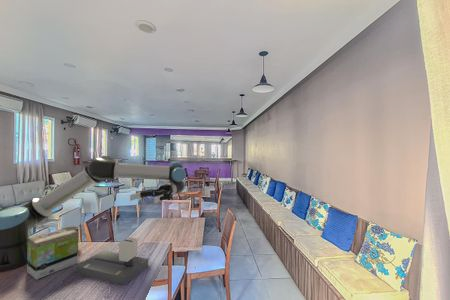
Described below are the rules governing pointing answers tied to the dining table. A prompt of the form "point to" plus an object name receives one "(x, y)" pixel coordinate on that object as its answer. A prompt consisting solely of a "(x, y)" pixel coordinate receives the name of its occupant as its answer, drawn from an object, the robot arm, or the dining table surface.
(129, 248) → the fader knob
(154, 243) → the dining table surface
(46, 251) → the tea box
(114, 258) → the console
